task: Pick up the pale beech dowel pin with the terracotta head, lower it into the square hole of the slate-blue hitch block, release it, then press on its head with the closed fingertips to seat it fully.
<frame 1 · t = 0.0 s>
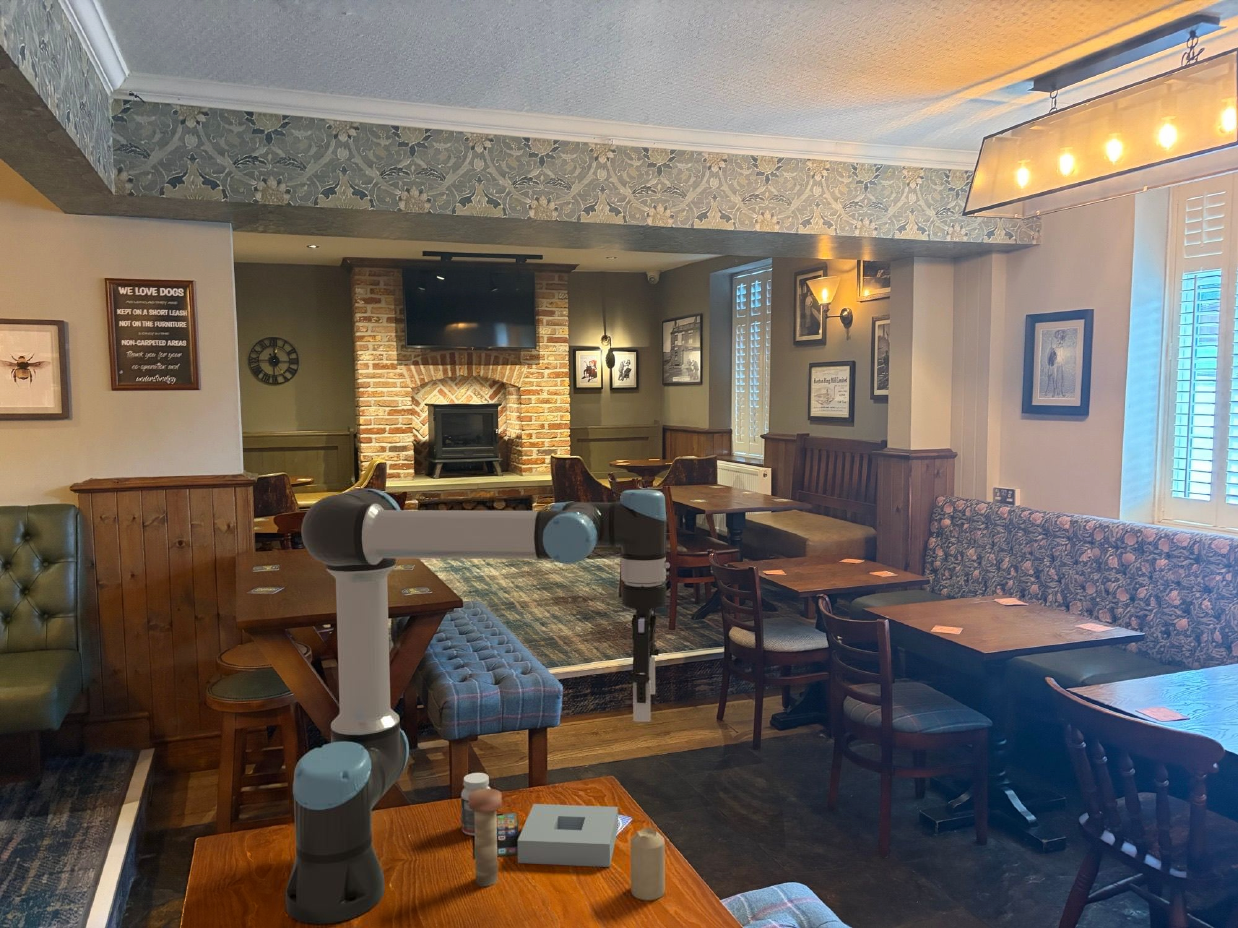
hand: (644, 706, 146), 28 cm above the table, fingers open, 13 cm apart
candle: (647, 892, 140), on the table
smartphone: (496, 839, 159), on the table
hitch block: (569, 844, 155), on the table
pill bottle: (476, 830, 161), on the table
peg: (486, 880, 144), on the table
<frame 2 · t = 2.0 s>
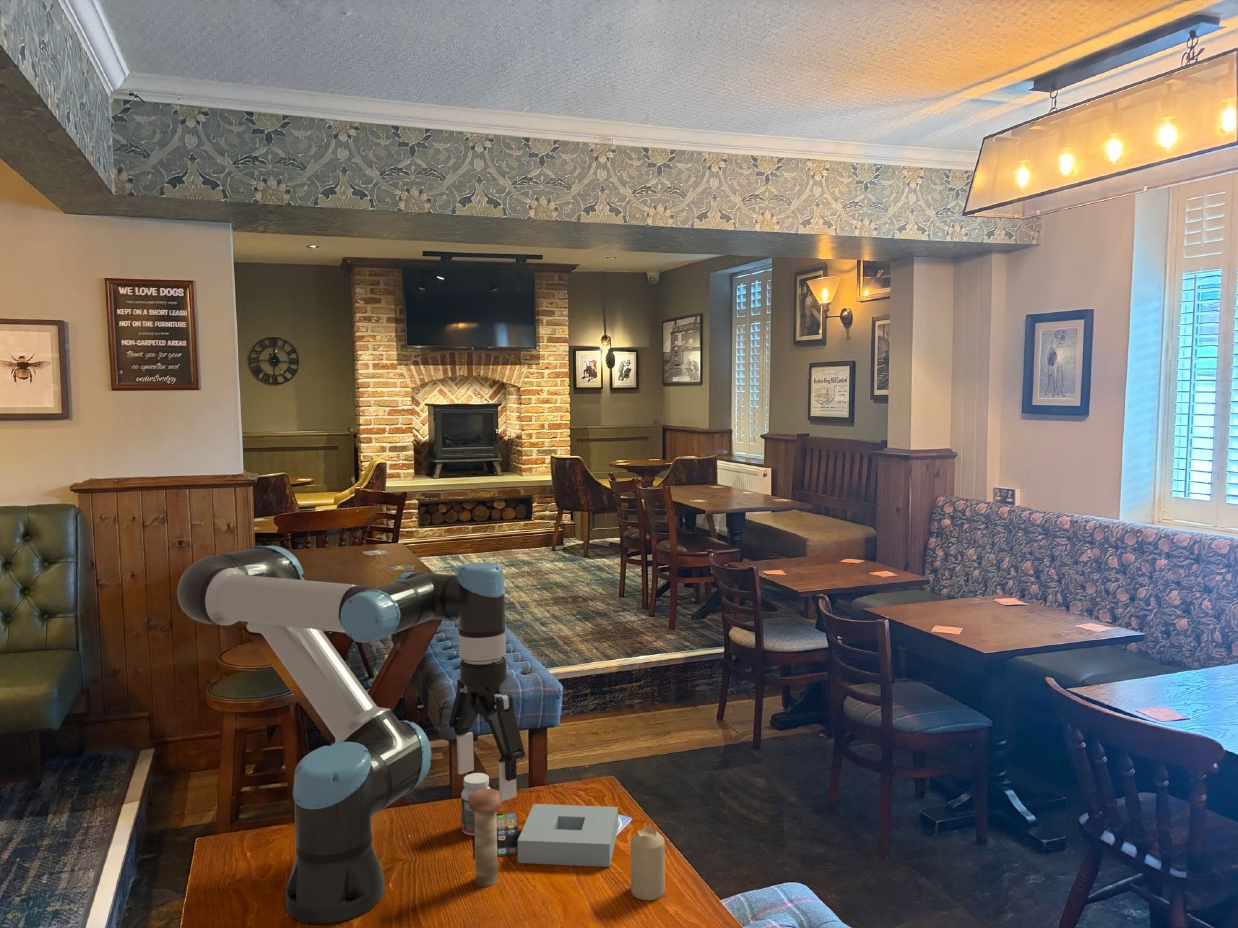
hand: (486, 784, 142), 16 cm above the table, fingers open, 13 cm apart
nothing on the table moved.
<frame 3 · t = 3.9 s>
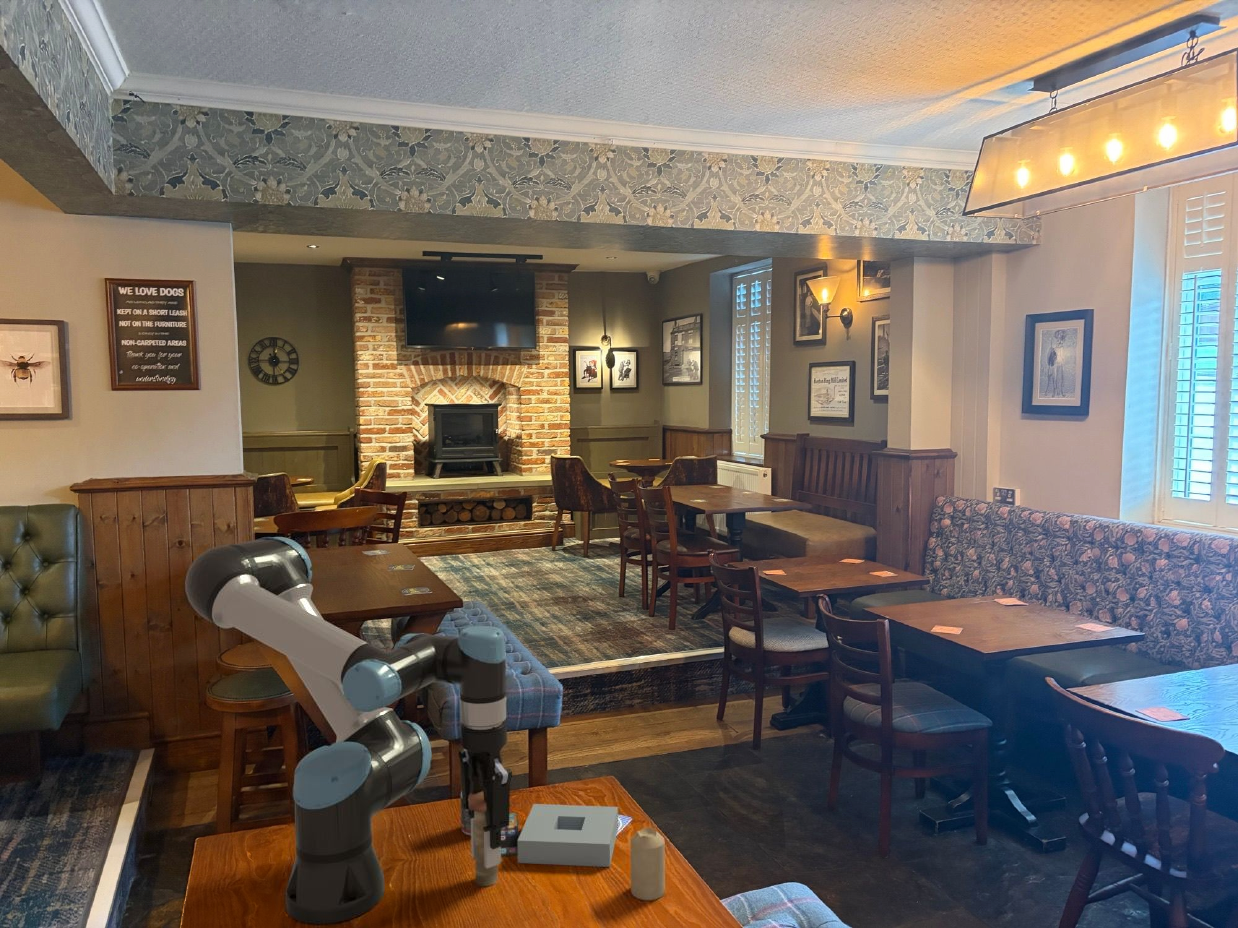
hand: (486, 859, 143), 4 cm above the table, fingers closed on peg, 3 cm apart
peg: (486, 880, 144), on the table, touching gripper
everything else where it was.
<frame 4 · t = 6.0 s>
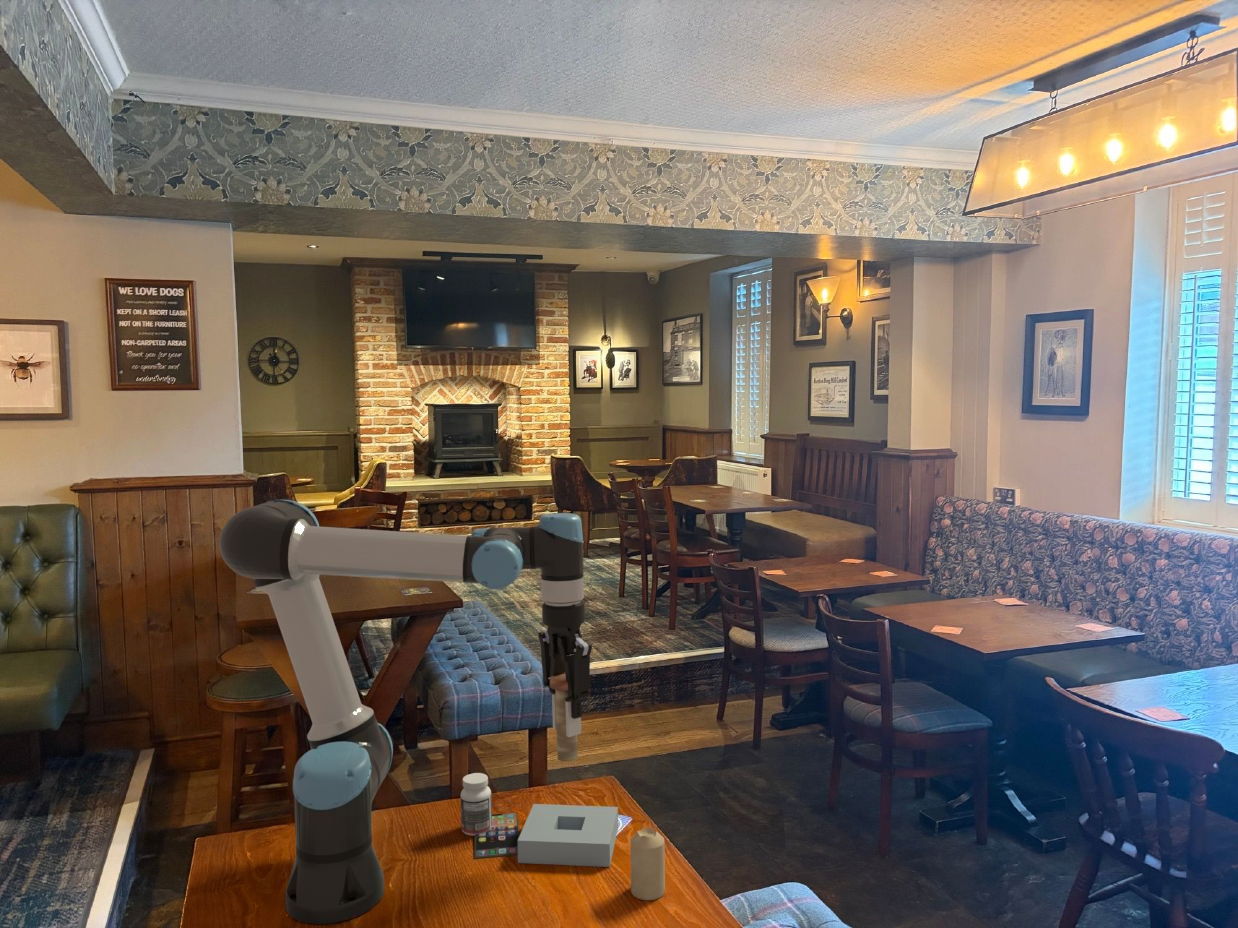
hand: (567, 731, 153), 21 cm above the table, fingers closed on peg, 3 cm apart
peg: (567, 757, 153), point 16 cm above the table, touching gripper
everything else where it was.
when the fingers open (5 cm above the table, at t = 8.5 s): peg stays where it is, resting in hitch block.
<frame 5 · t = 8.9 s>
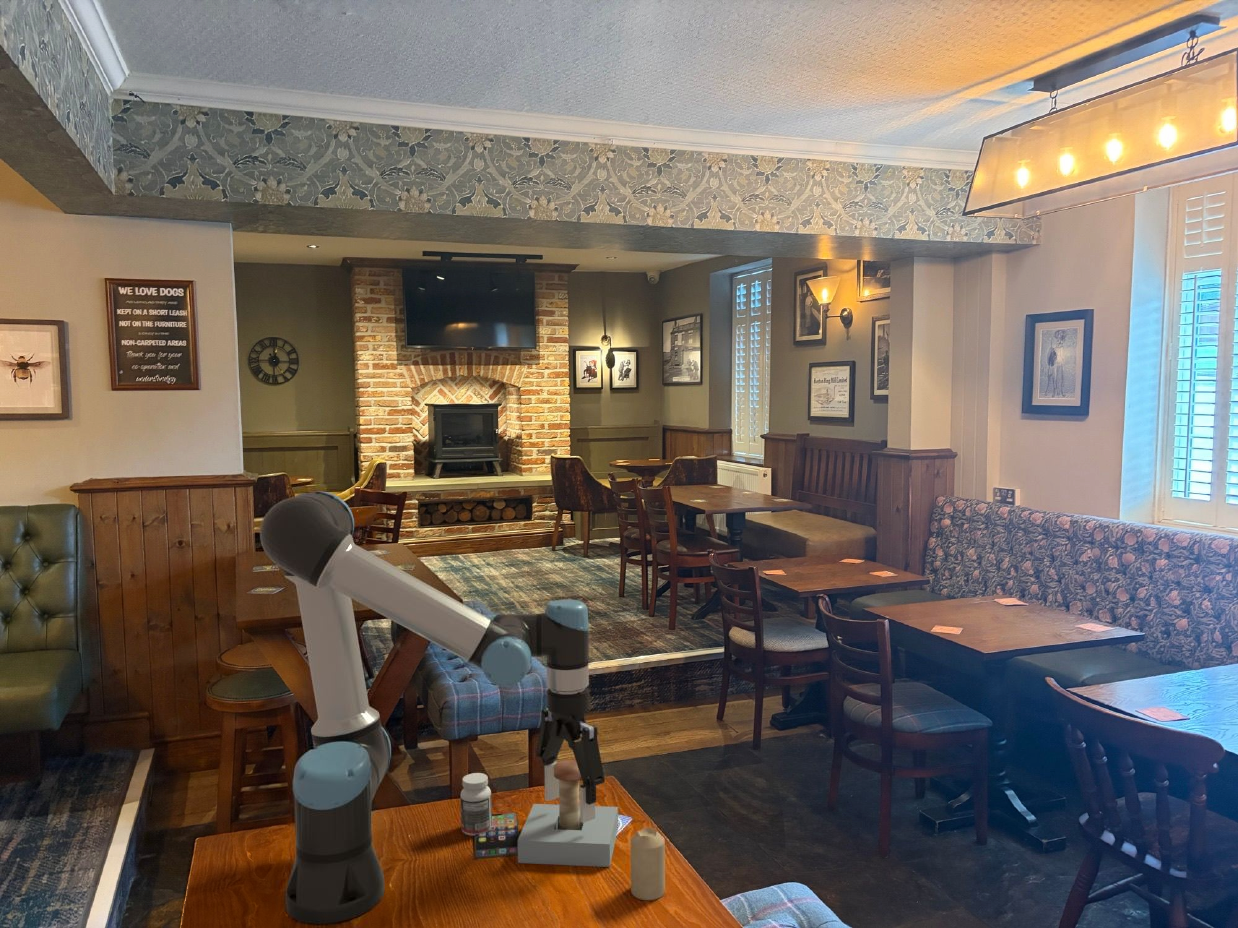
hand: (569, 808, 155), 7 cm above the table, fingers open, 10 cm apart
peg: (569, 844, 155), resting in hitch block
everything else where it was.
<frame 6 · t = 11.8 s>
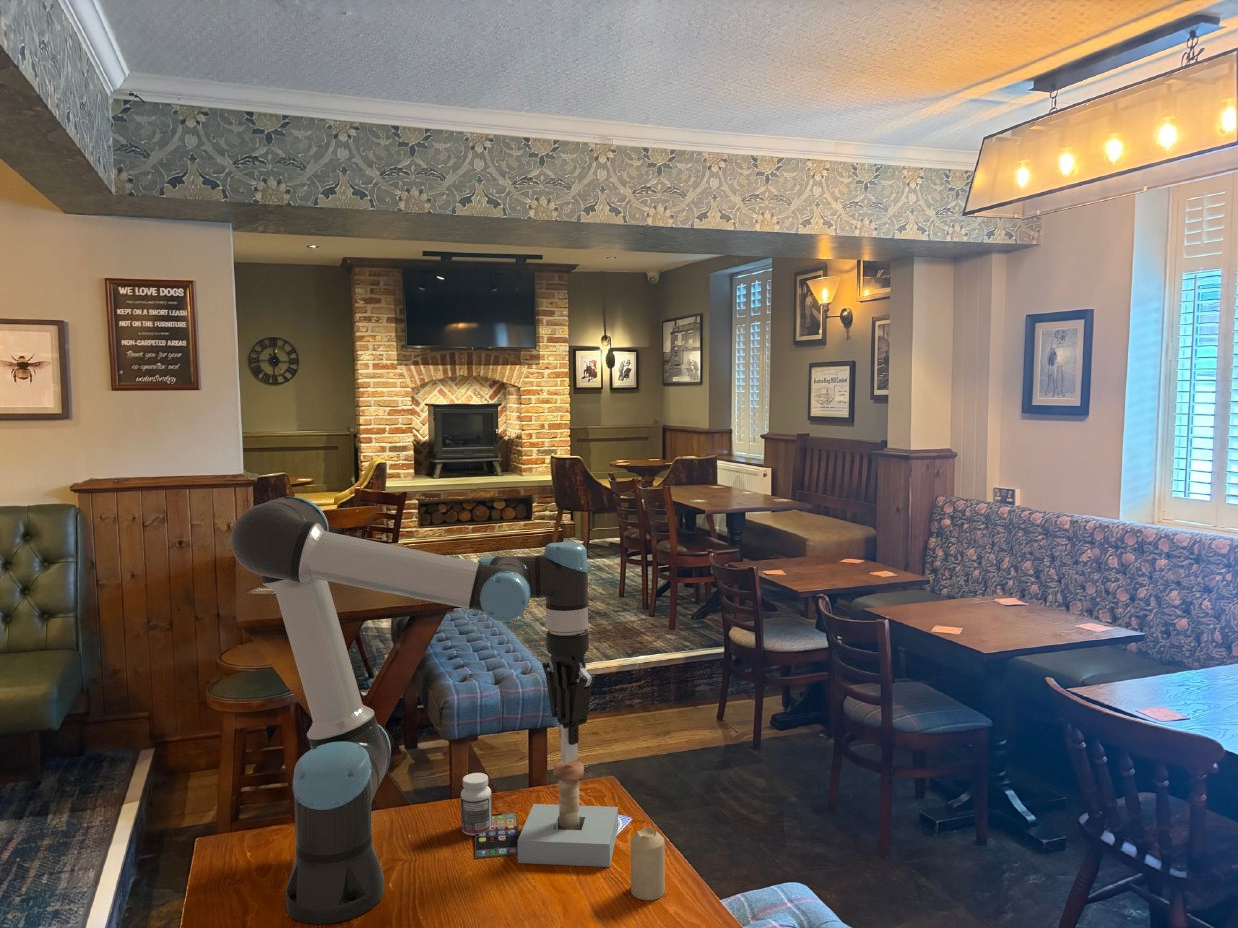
hand: (569, 759, 154), 16 cm above the table, fingers closed
nothing on the table moved.
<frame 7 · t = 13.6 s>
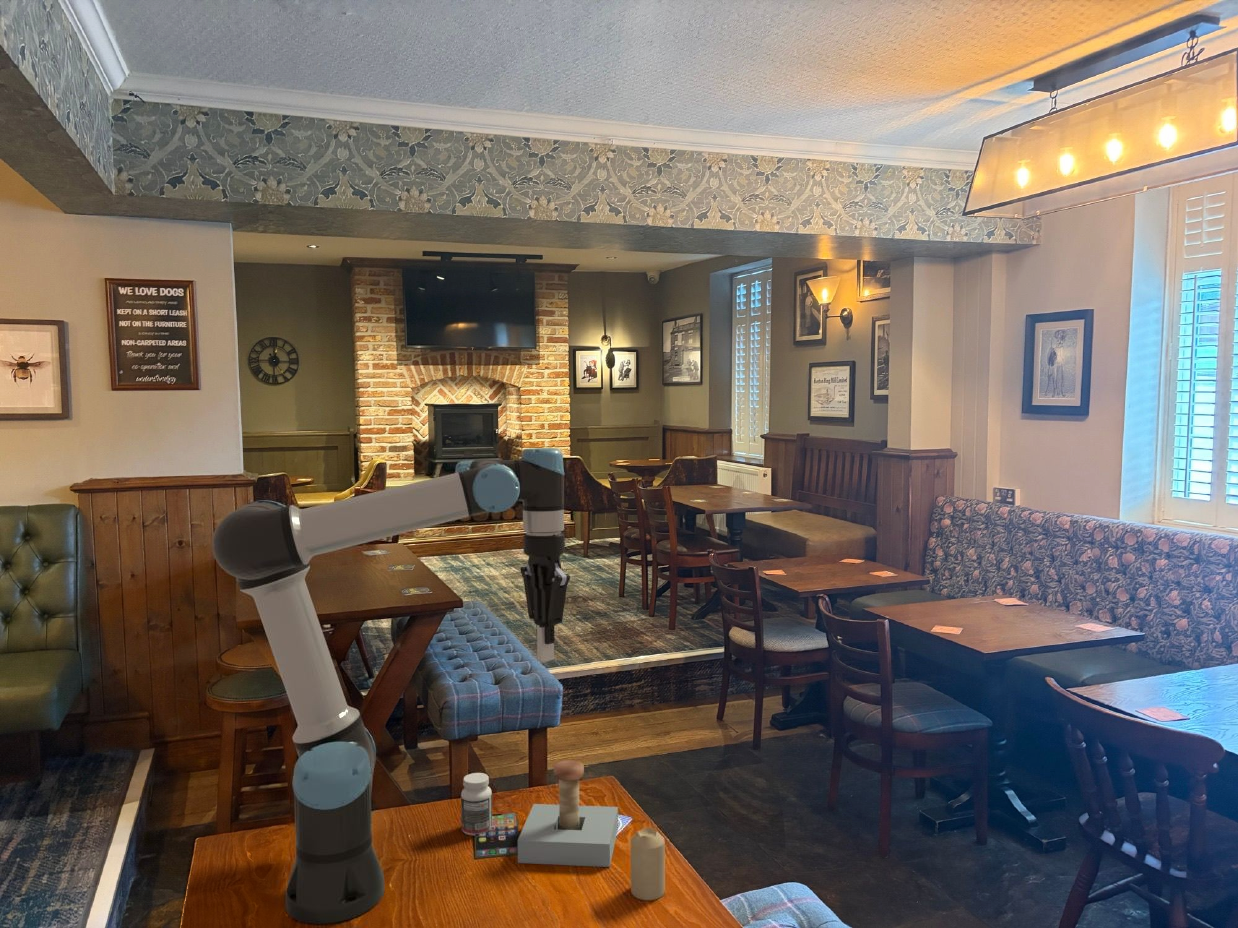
hand: (545, 659, 159), 32 cm above the table, fingers closed
nothing on the table moved.
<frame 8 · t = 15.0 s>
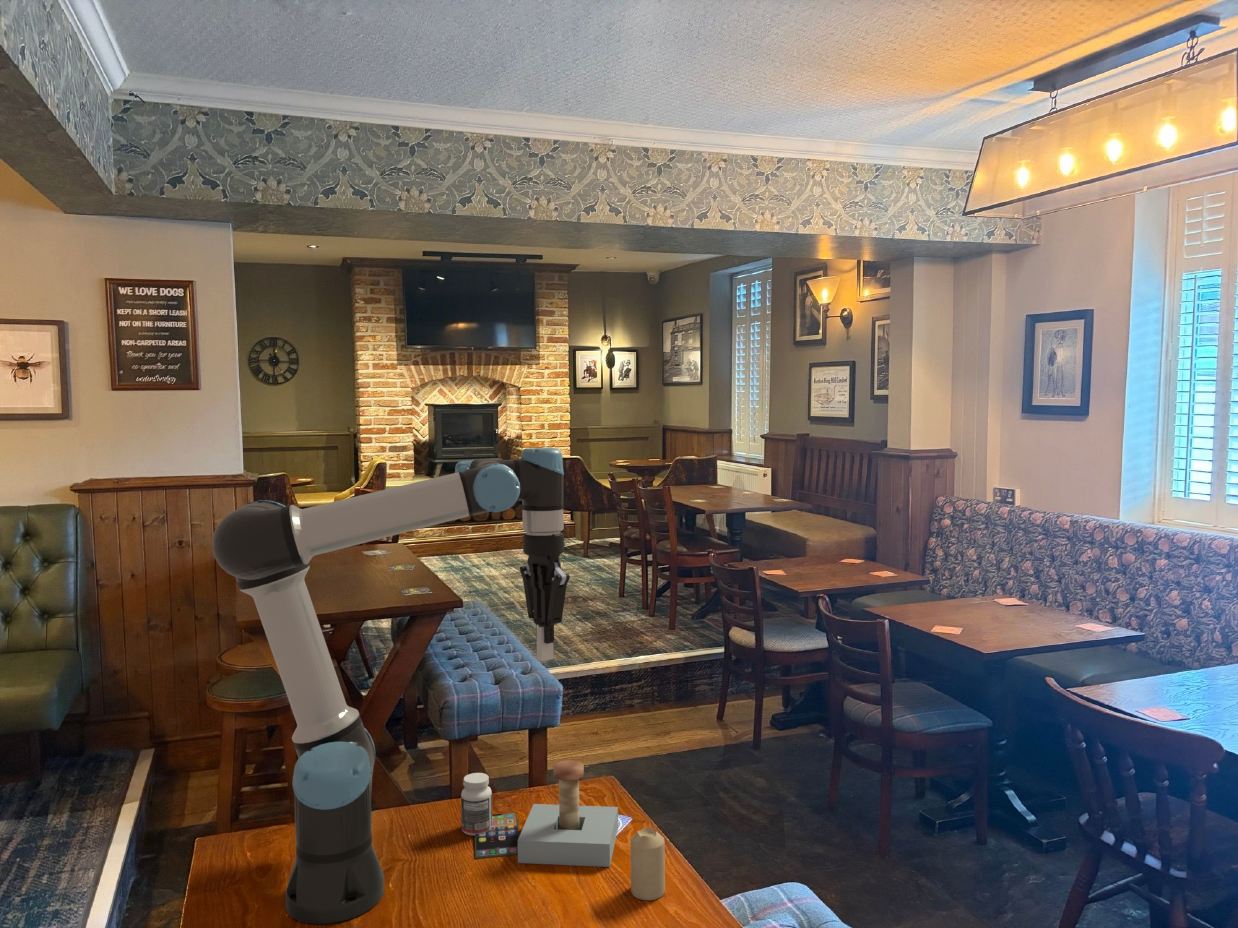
hand: (545, 659, 159), 32 cm above the table, fingers closed
nothing on the table moved.
at the end: peg 0.0 cm off-centre on the hitch block, point 0.0 cm above the hitch block's base; peg tilted 0°; the gripper is holding nothing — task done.
